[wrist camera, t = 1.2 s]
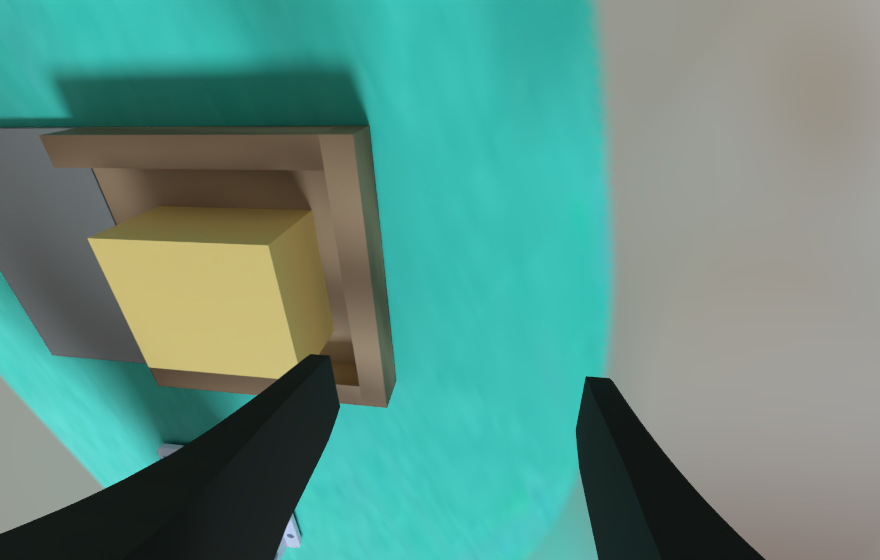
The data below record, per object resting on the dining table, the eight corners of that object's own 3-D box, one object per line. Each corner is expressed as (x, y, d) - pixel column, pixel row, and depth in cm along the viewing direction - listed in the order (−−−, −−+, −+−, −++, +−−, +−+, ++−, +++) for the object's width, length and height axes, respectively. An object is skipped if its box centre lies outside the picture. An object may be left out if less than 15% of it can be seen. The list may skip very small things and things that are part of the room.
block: (334, 330, 20) (302, 381, 17) (201, 320, 21) (148, 367, 18) (311, 209, 17) (267, 245, 14) (158, 205, 18) (87, 238, 15)
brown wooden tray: (396, 381, 21) (386, 407, 20) (181, 362, 23) (158, 385, 21) (369, 125, 15) (353, 134, 14) (82, 127, 17) (38, 135, 15)
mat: (180, 362, 23) (176, 366, 23) (57, 351, 24) (52, 355, 24) (80, 127, 17) (73, 128, 17) (-78, 128, 18) (-86, 129, 18)
